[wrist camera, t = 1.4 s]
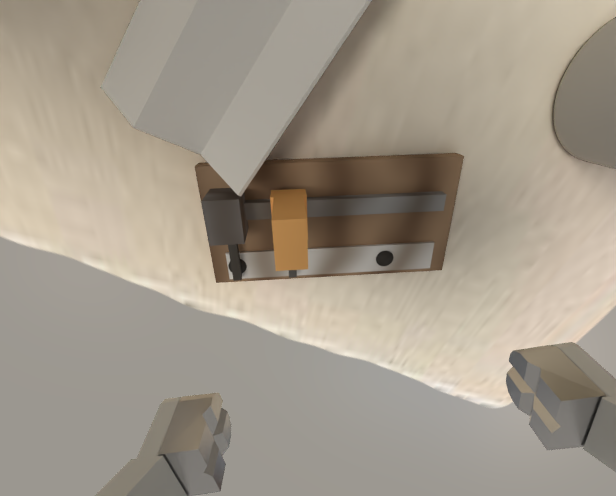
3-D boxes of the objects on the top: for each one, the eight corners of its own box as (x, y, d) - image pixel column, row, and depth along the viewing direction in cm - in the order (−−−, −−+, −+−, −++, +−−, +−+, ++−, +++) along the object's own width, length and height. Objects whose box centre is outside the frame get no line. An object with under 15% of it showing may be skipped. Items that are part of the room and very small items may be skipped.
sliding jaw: (278, 274, 32) (276, 324, 26) (271, 188, 28) (267, 220, 22) (307, 272, 33) (313, 322, 26) (304, 186, 28) (311, 218, 22)
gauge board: (218, 275, 35) (209, 303, 30) (198, 162, 29) (183, 177, 25) (435, 263, 36) (457, 288, 31) (456, 153, 30) (485, 164, 26)
